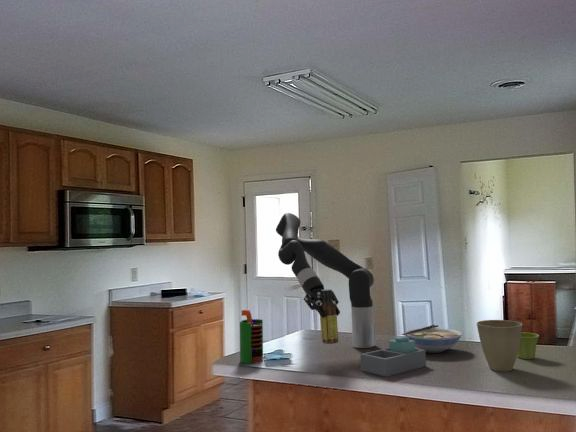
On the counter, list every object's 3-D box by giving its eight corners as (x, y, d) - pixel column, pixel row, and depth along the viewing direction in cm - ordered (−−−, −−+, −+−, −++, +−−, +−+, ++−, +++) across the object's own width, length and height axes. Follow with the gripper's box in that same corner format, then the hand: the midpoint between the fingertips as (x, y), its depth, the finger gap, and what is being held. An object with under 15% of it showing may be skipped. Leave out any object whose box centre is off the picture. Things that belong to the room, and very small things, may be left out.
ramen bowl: (440, 360, 207) (439, 338, 207) (391, 352, 224) (391, 331, 225) (475, 349, 224) (474, 329, 224) (427, 342, 241) (426, 324, 241)
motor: (259, 364, 211) (257, 311, 211) (237, 363, 213) (235, 311, 213) (265, 358, 221) (264, 308, 221) (244, 357, 222) (242, 308, 223)
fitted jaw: (400, 359, 205) (400, 335, 206) (415, 363, 200) (414, 337, 200) (390, 362, 202) (389, 337, 202) (404, 365, 196) (403, 339, 196)
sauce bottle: (340, 341, 208) (338, 288, 209) (336, 344, 202) (334, 290, 203) (323, 340, 210) (321, 288, 211) (319, 344, 204) (317, 290, 205)
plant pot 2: (540, 355, 209) (539, 332, 210) (540, 361, 201) (538, 337, 201) (513, 354, 213) (512, 331, 214) (512, 359, 205) (511, 336, 205)
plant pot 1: (469, 368, 194) (467, 322, 195) (498, 362, 202) (496, 318, 202) (504, 377, 181) (502, 328, 182) (533, 370, 189) (531, 323, 189)
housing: (400, 360, 209) (399, 345, 209) (425, 366, 199) (425, 349, 199) (361, 370, 196) (360, 354, 196) (386, 376, 186) (385, 359, 187)
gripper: (319, 287, 221) (341, 319, 211) (291, 290, 213) (312, 324, 203) (328, 274, 217) (350, 306, 207) (299, 277, 209) (321, 311, 199)
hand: (331, 315), depth 205 cm, fingers closed on sauce bottle, 6 cm apart
